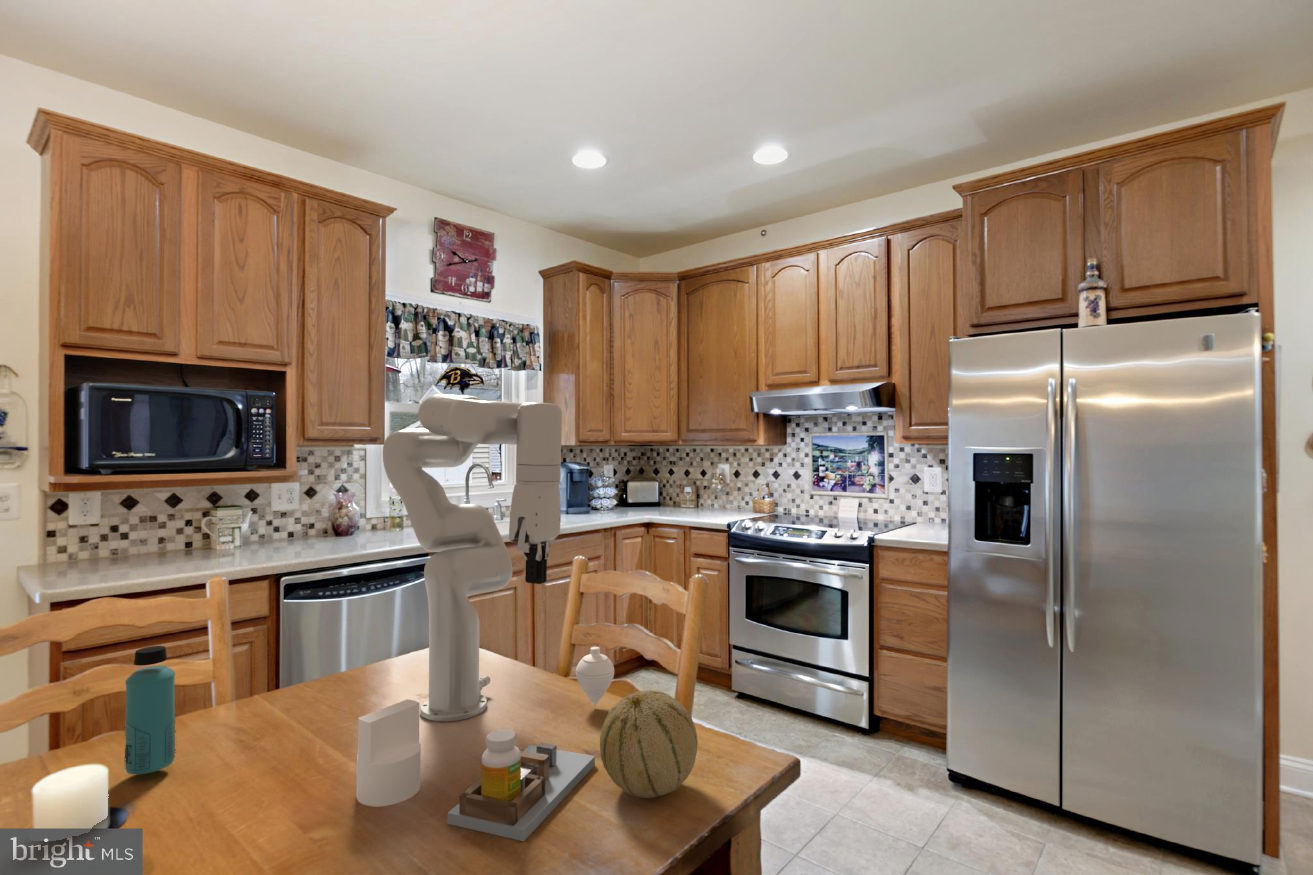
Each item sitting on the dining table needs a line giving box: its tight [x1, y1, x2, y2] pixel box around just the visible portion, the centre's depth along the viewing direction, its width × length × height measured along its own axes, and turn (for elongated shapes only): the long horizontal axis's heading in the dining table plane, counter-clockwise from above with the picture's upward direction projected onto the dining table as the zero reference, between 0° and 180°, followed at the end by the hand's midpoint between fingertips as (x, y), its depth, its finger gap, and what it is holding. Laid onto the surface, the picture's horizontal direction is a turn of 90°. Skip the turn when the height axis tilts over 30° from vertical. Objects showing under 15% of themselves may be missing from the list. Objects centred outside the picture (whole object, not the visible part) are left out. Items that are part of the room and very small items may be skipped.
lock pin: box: [521, 742, 557, 792], centre depth 100 cm, size 10×3×3 cm, turn 160°
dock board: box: [446, 744, 596, 842], centre depth 98 cm, size 22×12×5 cm, turn 160°
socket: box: [458, 774, 545, 826], centre depth 92 cm, size 8×8×2 cm
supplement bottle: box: [480, 728, 521, 802], centre depth 92 cm, size 5×5×10 cm
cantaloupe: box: [599, 689, 699, 799], centre depth 99 cm, size 15×15×15 cm
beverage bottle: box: [123, 645, 177, 775], centre depth 104 cm, size 6×7×20 cm
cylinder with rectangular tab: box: [355, 699, 422, 808], centre depth 99 cm, size 9×9×12 cm
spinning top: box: [575, 646, 615, 709], centre depth 130 cm, size 8×8×12 cm
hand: (535, 582), depth 112 cm, fingers closed
